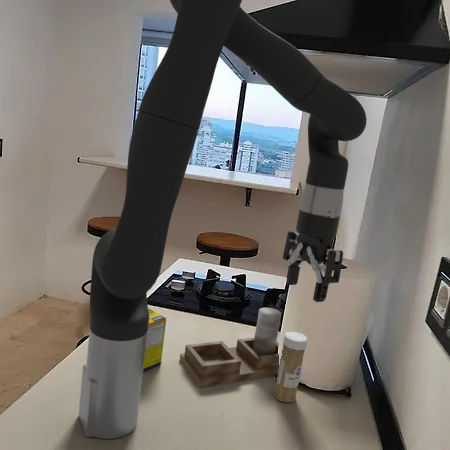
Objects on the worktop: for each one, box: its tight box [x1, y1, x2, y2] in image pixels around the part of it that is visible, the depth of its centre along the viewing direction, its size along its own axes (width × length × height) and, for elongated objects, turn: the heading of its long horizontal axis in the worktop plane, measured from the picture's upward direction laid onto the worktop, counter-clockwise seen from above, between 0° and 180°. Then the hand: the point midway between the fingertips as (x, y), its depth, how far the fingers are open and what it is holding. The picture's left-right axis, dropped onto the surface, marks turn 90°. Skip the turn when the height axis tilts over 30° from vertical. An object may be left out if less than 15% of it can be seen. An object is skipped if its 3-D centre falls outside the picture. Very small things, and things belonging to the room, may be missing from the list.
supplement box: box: [143, 307, 167, 373], centre depth 97 cm, size 6×6×11 cm
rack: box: [179, 307, 282, 388], centre depth 101 cm, size 23×11×12 cm, turn 118°
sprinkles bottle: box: [273, 331, 308, 404], centre depth 92 cm, size 5×5×14 cm
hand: (304, 292), depth 89 cm, fingers open, 8 cm apart
